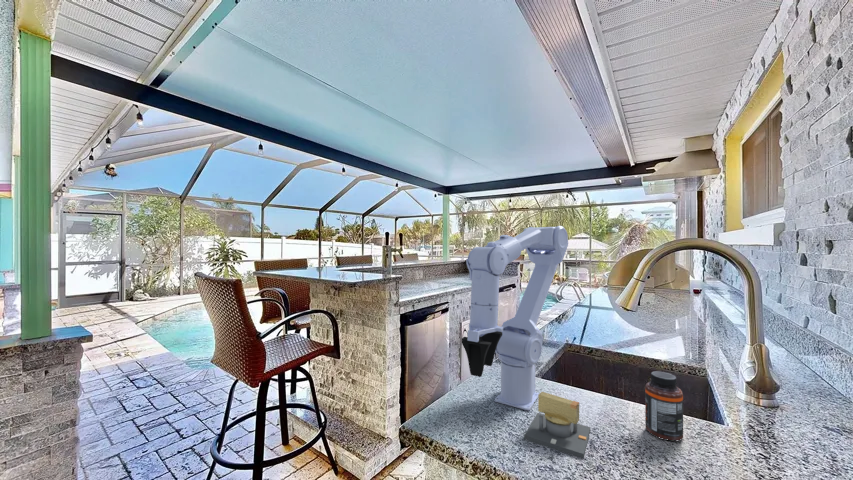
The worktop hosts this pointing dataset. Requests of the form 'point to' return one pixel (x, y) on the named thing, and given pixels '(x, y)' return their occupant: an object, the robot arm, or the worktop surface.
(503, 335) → the robot arm
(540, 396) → the lever handle
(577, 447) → the post base
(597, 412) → the worktop surface
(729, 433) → the worktop surface
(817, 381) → the worktop surface
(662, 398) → the supplement bottle
